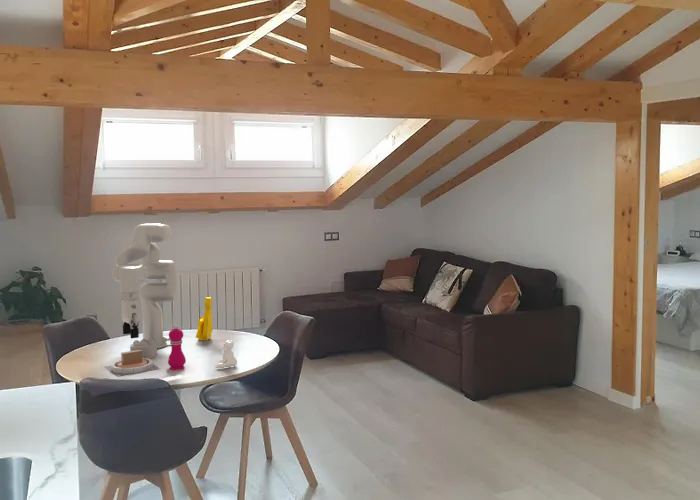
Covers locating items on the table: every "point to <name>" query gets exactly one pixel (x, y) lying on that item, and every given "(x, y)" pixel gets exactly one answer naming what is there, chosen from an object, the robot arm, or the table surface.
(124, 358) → the cover
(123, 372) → the base plate
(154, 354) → the lumpy-topped squat cylinder
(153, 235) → the robot arm
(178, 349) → the pepper mill
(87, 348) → the table surface
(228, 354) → the seated beast figurine
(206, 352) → the table surface
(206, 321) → the figure statuette
